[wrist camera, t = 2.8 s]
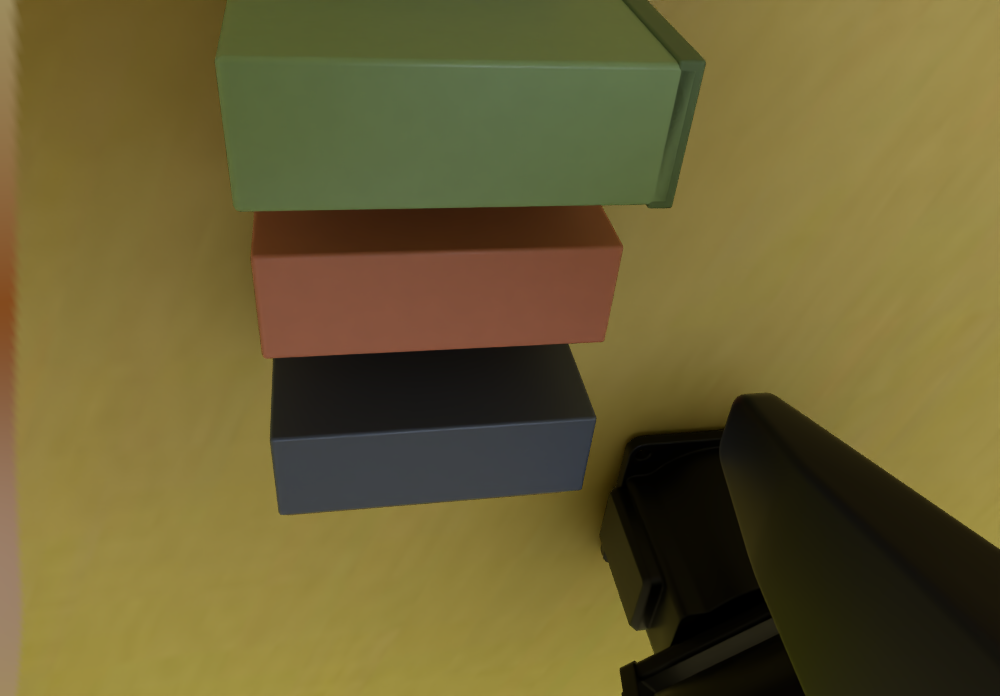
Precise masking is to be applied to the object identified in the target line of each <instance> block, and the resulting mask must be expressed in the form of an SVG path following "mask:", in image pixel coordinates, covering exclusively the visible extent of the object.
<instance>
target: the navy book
mask: <svg viewBox="0 0 1000 696" xmlns="http://www.w3.org/2000/svg"><path fill="white" fill-rule="evenodd" d="M595 423H596V415H595V413H594V410H593V407H592V405H591V402H590V400H589V397H588V394H587V392H586V389H585V386H584V384H583V381H582V379H581V376H580V373H579V371H578V368H577V365H576V363H575V360H574V358H573V355H572V352H571V350H570V347H569V345H568V344H550V345H530V346H510V347H490V348H469V349H449V350H429V351H409V352H389V353H368V354H348V355H328V356H308V357H288V358H273V372H272V398H271V424H270V445H271V453H272V461H273V469H274V478H275V486H276V494H277V502H278V510H279V513H280V515H288V514H300V513H312V512H324V511H336V510H348V509H360V508H372V507H384V506H396V505H408V504H420V503H432V502H444V501H456V500H468V499H480V498H492V497H504V496H516V495H528V494H540V493H552V492H564V491H576V490H581V489H582V485H583V480H584V475H585V470H586V466H587V461H588V456H589V451H590V447H591V442H592V437H593V433H594V428H595Z"/></svg>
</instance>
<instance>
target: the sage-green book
mask: <svg viewBox="0 0 1000 696" xmlns="http://www.w3.org/2000/svg"><path fill="white" fill-rule="evenodd" d="M705 65H706V62H705V60H704V59H703V58H702V57H701V56H700V55H699V53H698V52H697V51H696V50H695V49H694V48H693V47H692V46H691V45H690V44H689V43H688V42H687V41H686V40H685V39H684V38H683V37H682V36H681V35H680V34H679V33H678V32H677V31H676V30H675V29H674V28H673V27H672V26H671V25H670V23H669V22H668V21H667V20H666V19H665V18H664V17H663V16H662V15H661V14H660V13H659V12H658V11H657V10H656V9H655V8H654V7H653V6H652V5H651V4H650V3H649V2H648V1H647V0H227V3H226V8H225V13H224V18H223V23H222V28H221V33H220V38H219V43H218V47H217V52H216V57H215V68H216V76H217V84H218V92H219V99H220V107H221V115H222V123H223V130H224V138H225V146H226V154H227V161H228V169H229V177H230V185H231V192H232V200H233V206H234V207H235V209H236V211H240V212H247V211H304V210H360V209H417V208H473V207H530V206H587V205H643V204H646V205H647V207H648V208H671V207H672V204H673V200H674V196H675V191H676V187H677V183H678V179H679V174H680V170H681V166H682V162H683V158H684V153H685V149H686V145H687V141H688V136H689V132H690V128H691V124H692V120H693V115H694V111H695V107H696V103H697V98H698V94H699V90H700V86H701V82H702V77H703V73H704V69H705Z"/></svg>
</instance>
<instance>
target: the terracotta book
mask: <svg viewBox="0 0 1000 696" xmlns="http://www.w3.org/2000/svg"><path fill="white" fill-rule="evenodd" d="M622 251H623V245H622V243H621V241H620V239H619V238H618V236H617V234H616V232H615V230H614V228H613V226H612V224H611V223H610V221H609V219H608V217H607V215H606V213H605V211H604V209H603V208H602V206H601V205H587V206H530V207H473V208H417V209H360V210H304V211H254V221H253V233H252V246H251V266H252V275H253V283H254V292H255V300H256V308H257V317H258V325H259V333H260V342H261V350H262V355H263V357H264V358H288V357H308V356H328V355H348V354H368V353H389V352H409V351H429V350H449V349H469V348H490V347H510V346H530V345H550V344H570V343H590V342H603V341H604V340H605V335H606V330H607V325H608V320H609V315H610V310H611V305H612V301H613V296H614V291H615V286H616V281H617V276H618V271H619V266H620V261H621V256H622Z"/></svg>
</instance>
